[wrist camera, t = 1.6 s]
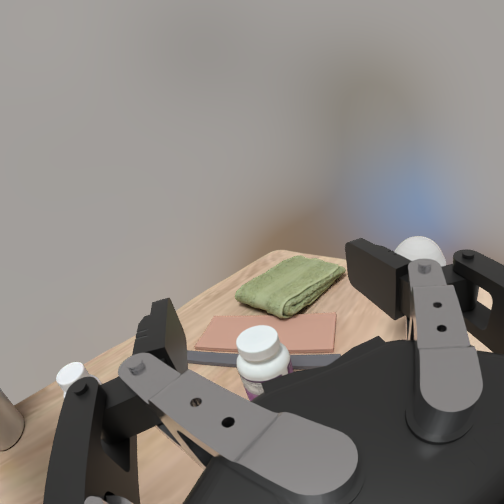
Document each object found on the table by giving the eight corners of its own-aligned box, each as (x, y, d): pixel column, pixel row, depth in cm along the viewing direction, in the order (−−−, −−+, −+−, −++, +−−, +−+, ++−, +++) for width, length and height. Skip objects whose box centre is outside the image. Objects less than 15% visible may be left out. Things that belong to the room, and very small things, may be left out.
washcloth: (349, 274, 51) (348, 258, 50) (287, 325, 41) (284, 307, 40) (295, 264, 61) (293, 250, 60) (231, 304, 51) (227, 288, 50)
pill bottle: (268, 377, 33) (251, 315, 30) (306, 390, 30) (296, 325, 26) (241, 408, 29) (217, 347, 26) (281, 424, 26) (263, 363, 23)
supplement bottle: (135, 429, 28) (93, 374, 24) (101, 449, 25) (53, 396, 21) (120, 405, 32) (83, 351, 28) (89, 423, 29) (48, 371, 25)
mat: (181, 362, 39) (180, 359, 39) (210, 318, 49) (209, 315, 48) (339, 368, 32) (339, 365, 31) (342, 315, 41) (342, 311, 41)
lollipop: (379, 361, 31) (380, 246, 25) (396, 332, 34) (398, 225, 29) (425, 374, 26) (442, 254, 21) (437, 342, 30) (450, 230, 25)
